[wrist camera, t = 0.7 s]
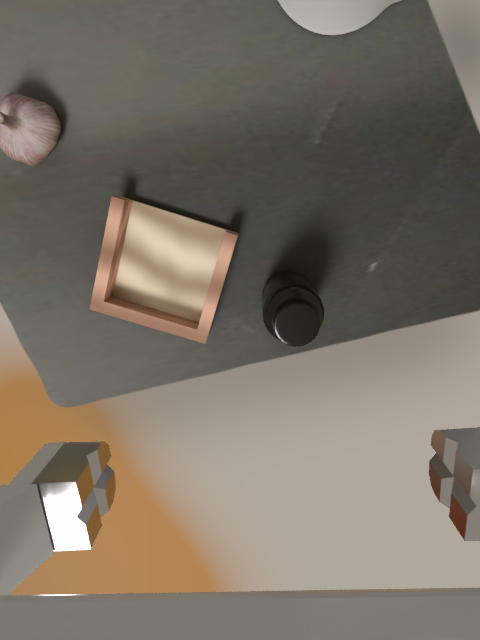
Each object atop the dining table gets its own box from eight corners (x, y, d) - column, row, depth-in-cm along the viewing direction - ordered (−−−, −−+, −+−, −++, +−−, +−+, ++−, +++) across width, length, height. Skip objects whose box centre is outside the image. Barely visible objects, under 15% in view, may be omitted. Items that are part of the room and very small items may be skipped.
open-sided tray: (123, 196, 47) (111, 196, 43) (238, 233, 48) (237, 235, 44) (101, 301, 51) (89, 309, 47) (209, 333, 52) (205, 343, 48)
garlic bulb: (64, 99, 44) (24, 76, 37) (72, 166, 46) (36, 158, 39) (1, 100, 45) (-52, 78, 37) (12, 167, 47) (-36, 159, 39)
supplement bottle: (252, 285, 50) (252, 309, 38) (300, 262, 49) (314, 279, 37) (275, 330, 51) (281, 365, 40) (321, 308, 50) (341, 338, 39)
